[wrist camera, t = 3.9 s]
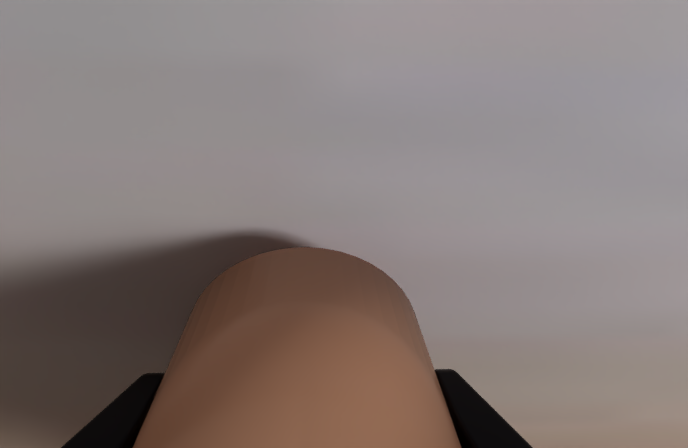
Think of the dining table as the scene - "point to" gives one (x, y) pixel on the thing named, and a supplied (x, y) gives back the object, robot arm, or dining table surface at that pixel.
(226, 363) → the terracotta cylinder
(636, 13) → the dining table surface
